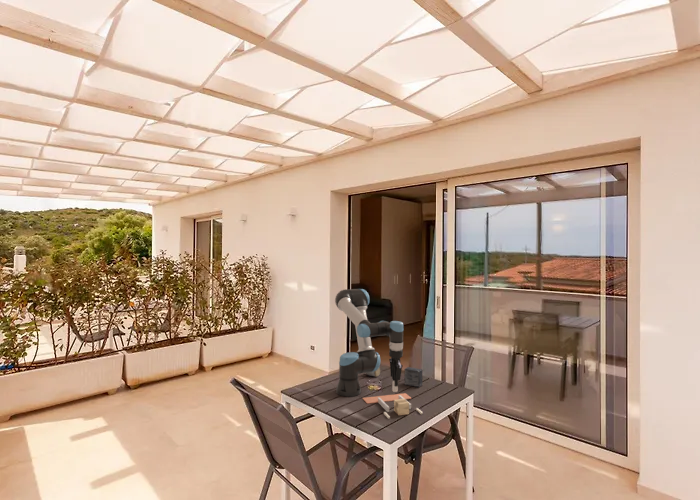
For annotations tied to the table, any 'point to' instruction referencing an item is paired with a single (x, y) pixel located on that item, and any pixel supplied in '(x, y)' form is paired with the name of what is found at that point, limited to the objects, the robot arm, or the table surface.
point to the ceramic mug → (374, 373)
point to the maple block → (401, 407)
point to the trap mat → (385, 398)
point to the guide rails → (387, 405)
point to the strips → (389, 416)
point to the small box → (413, 377)
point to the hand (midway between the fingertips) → (395, 391)
